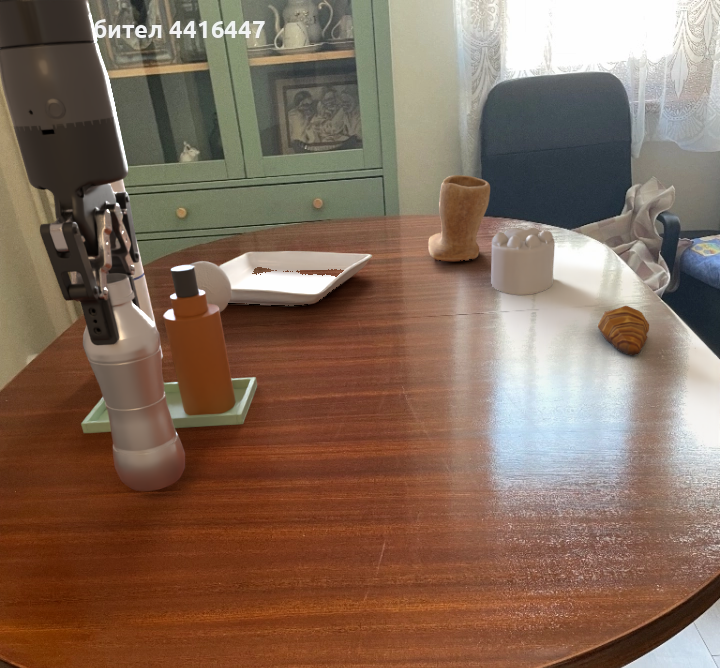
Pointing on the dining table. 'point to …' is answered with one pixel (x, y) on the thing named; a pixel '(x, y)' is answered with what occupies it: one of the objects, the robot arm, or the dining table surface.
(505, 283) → the lumpy-topped squat cylinder
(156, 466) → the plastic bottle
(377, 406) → the dining table surface
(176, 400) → the tray
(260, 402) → the dining table surface
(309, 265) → the square plate
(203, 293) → the amber bottle
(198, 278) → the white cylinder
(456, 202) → the clay boot
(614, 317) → the croissant
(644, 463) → the dining table surface
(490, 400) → the dining table surface
